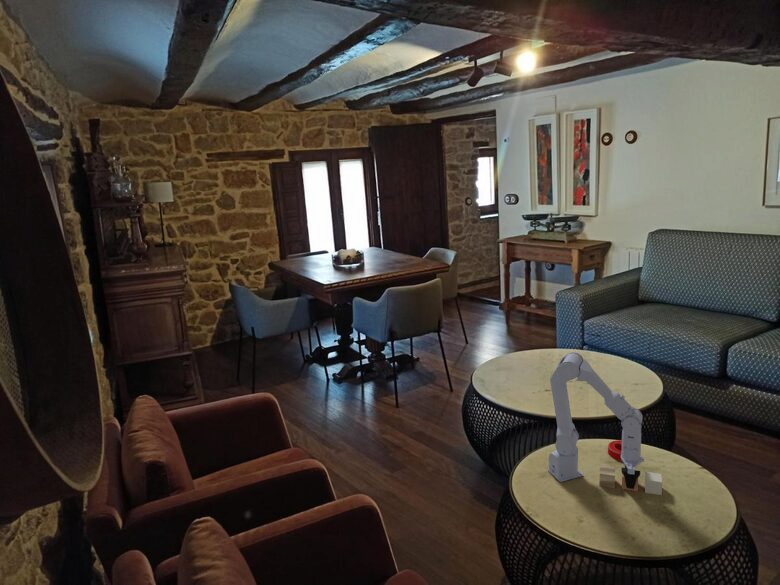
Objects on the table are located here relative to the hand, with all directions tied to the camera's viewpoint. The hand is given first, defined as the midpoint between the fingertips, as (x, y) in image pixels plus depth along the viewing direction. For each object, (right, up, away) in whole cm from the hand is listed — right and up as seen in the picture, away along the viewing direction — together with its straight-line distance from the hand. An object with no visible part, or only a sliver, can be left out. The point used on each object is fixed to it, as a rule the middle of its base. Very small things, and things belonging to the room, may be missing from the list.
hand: (629, 481), depth 180 cm
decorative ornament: (+5, +3, +19) cm, 20 cm away
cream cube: (+7, -2, -2) cm, 7 cm away
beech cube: (-6, -2, +3) cm, 7 cm away
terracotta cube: (0, -2, +1) cm, 2 cm away
